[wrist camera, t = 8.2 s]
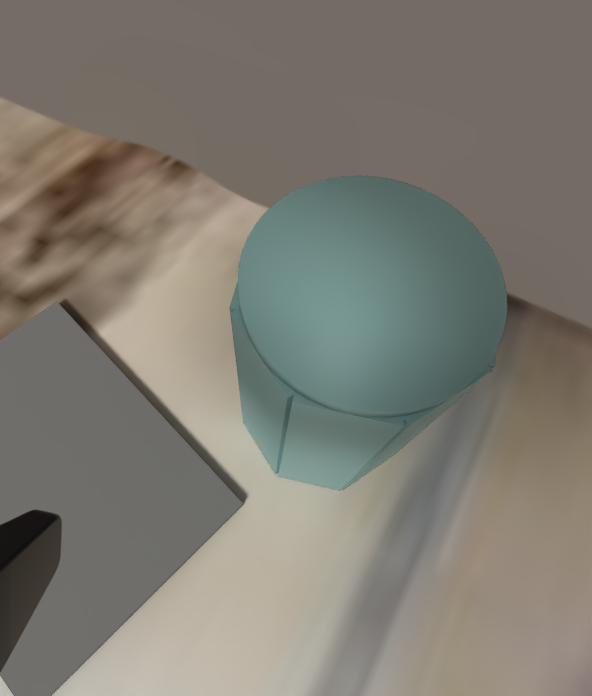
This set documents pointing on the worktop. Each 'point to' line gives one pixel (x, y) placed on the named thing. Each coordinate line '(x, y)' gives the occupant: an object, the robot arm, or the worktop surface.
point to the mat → (93, 493)
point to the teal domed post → (359, 323)
